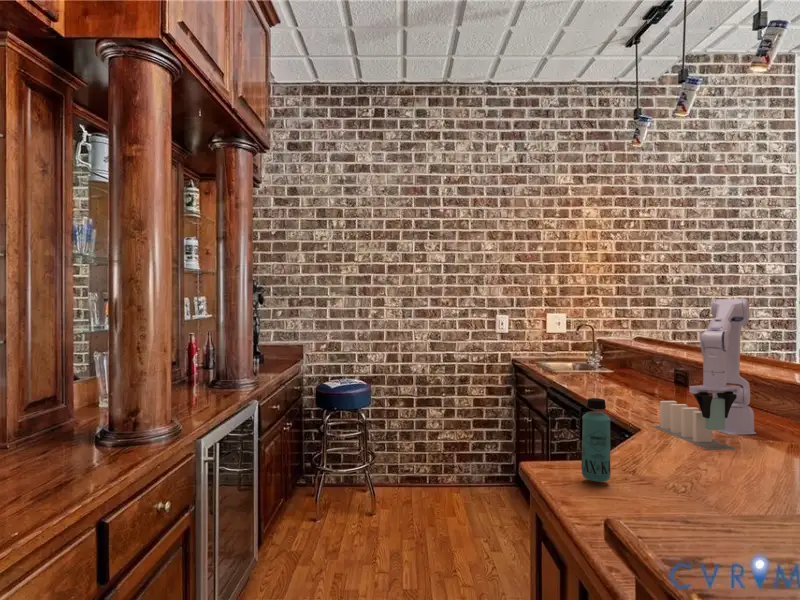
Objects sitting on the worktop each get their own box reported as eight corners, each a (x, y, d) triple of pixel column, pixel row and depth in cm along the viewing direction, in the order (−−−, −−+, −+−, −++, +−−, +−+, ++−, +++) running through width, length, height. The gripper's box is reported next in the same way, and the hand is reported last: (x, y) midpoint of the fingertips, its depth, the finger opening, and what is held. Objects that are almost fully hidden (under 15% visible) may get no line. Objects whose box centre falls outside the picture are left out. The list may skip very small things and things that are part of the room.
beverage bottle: (576, 478, 120) (576, 396, 120) (603, 478, 120) (602, 395, 120) (589, 488, 113) (588, 401, 113) (617, 487, 114) (616, 401, 114)
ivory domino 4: (708, 440, 152) (707, 411, 152) (711, 441, 151) (711, 412, 151) (692, 440, 152) (692, 411, 152) (696, 442, 150) (696, 412, 150)
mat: (675, 426, 171) (675, 425, 171) (737, 449, 143) (737, 448, 143) (650, 426, 170) (650, 426, 170) (708, 450, 142) (708, 449, 142)
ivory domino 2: (684, 431, 163) (684, 403, 163) (687, 432, 162) (687, 404, 162) (670, 431, 163) (670, 404, 163) (673, 432, 161) (673, 405, 161)
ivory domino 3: (696, 435, 158) (695, 407, 158) (699, 436, 156) (699, 408, 156) (681, 436, 157) (680, 407, 157) (684, 437, 156) (684, 408, 156)
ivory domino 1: (674, 427, 169) (673, 400, 169) (677, 428, 167) (676, 401, 167) (660, 427, 168) (659, 401, 168) (663, 428, 167) (662, 401, 167)
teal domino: (721, 428, 147) (720, 397, 147) (725, 429, 145) (724, 398, 145) (705, 428, 146) (705, 398, 146) (709, 430, 145) (708, 399, 145)
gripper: (700, 373, 141) (701, 421, 141) (748, 372, 143) (748, 420, 143) (684, 370, 148) (684, 415, 148) (729, 369, 150) (730, 414, 150)
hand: (714, 417), depth 146 cm, fingers closed on teal domino, 5 cm apart
